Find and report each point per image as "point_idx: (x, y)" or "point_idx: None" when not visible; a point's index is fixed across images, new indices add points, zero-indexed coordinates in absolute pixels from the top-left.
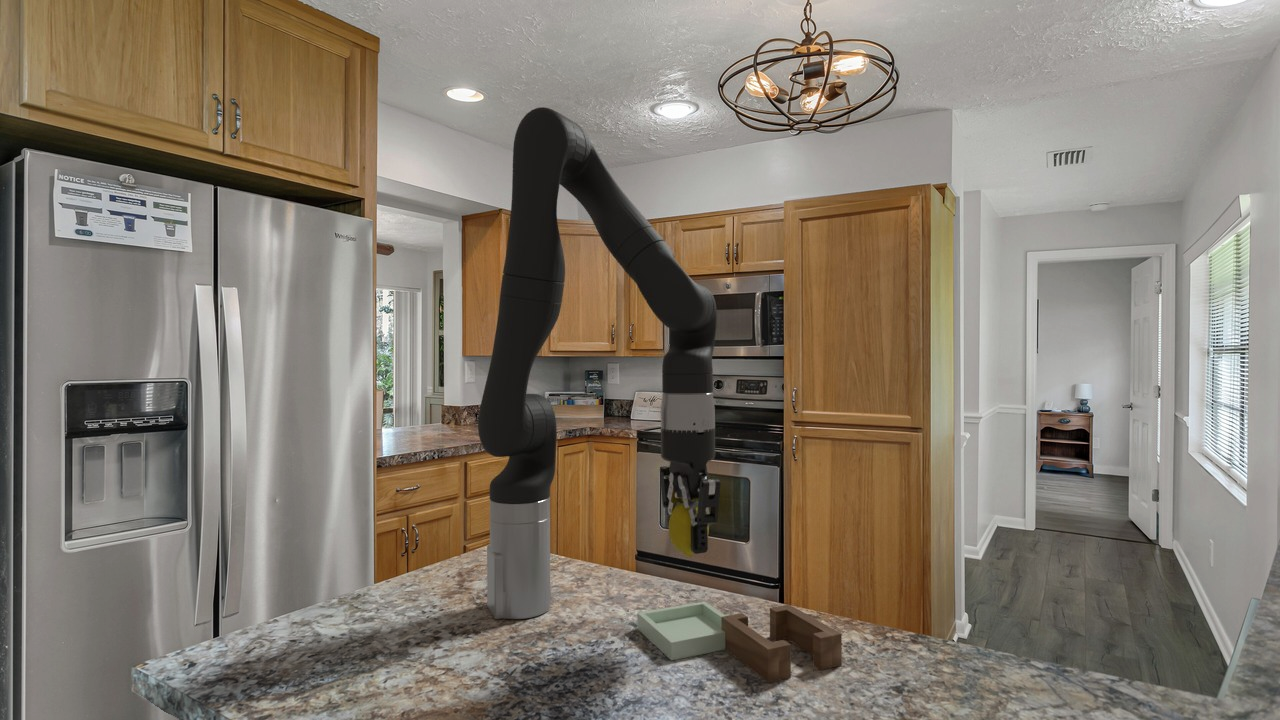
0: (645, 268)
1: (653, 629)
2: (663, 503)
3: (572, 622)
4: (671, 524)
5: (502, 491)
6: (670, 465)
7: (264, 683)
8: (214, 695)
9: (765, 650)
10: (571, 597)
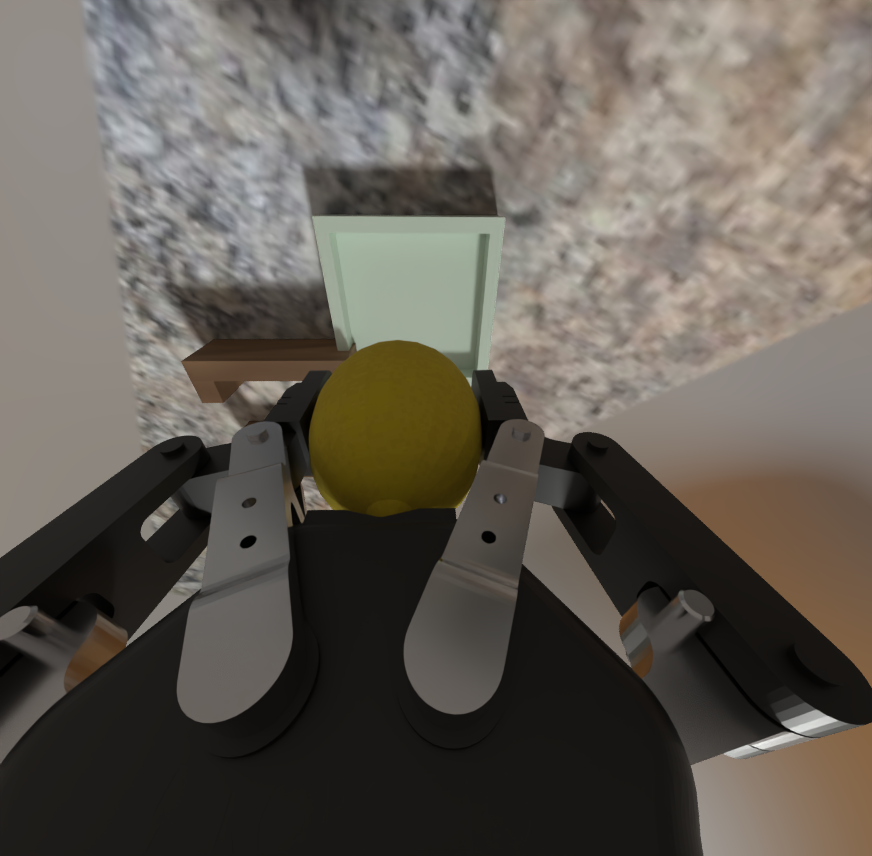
0: None
1: (410, 216)
2: (597, 442)
3: (643, 23)
4: (388, 366)
5: None
6: (654, 810)
7: None
8: None
9: (193, 359)
10: (796, 113)
